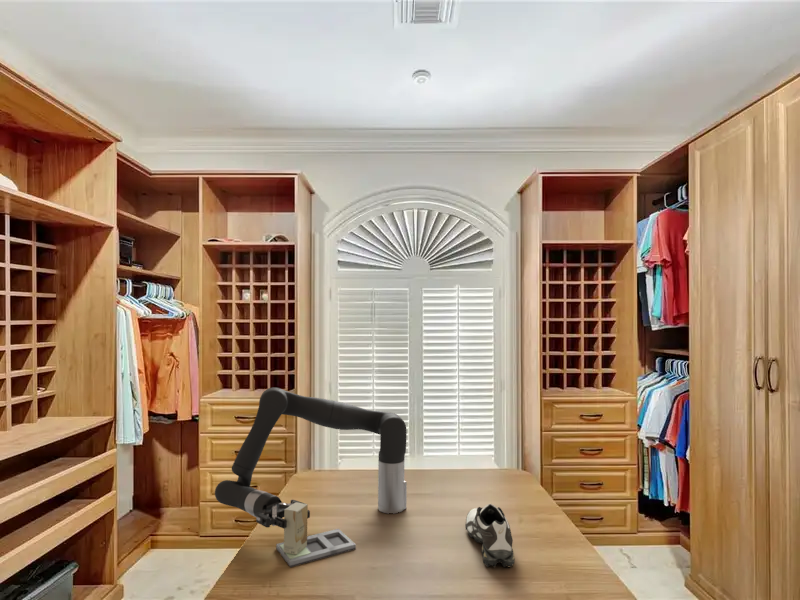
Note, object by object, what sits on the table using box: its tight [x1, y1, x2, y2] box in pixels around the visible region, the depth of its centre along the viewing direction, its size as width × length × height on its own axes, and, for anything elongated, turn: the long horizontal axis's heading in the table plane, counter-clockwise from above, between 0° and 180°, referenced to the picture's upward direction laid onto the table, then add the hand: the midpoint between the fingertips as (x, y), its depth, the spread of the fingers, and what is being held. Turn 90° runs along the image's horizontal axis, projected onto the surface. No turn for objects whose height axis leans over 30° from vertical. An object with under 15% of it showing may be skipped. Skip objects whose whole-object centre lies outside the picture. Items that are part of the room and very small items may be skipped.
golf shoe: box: [465, 503, 516, 568], centre depth 151 cm, size 12×30×14 cm, turn 9°
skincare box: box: [283, 502, 309, 555], centre depth 144 cm, size 6×4×12 cm
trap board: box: [275, 528, 357, 568], centre depth 148 cm, size 20×12×2 cm, turn 122°
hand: (297, 519), depth 144 cm, fingers open, 8 cm apart
